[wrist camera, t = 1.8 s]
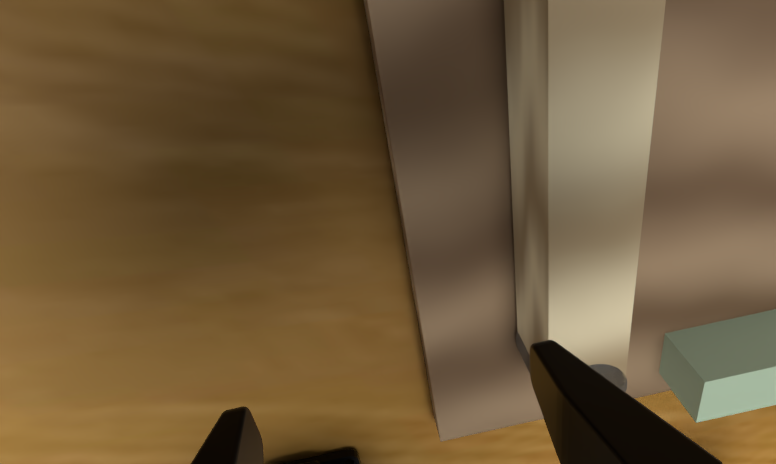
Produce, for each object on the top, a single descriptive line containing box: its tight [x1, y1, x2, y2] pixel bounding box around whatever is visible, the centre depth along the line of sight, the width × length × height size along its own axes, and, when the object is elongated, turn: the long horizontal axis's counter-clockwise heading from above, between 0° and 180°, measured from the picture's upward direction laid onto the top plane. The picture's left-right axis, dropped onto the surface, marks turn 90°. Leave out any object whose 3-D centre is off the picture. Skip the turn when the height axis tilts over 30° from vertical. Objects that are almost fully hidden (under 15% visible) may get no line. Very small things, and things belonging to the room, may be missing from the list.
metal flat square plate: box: [364, 0, 776, 441], centre depth 23 cm, size 22×21×2 cm
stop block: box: [659, 309, 776, 423], centre depth 25 cm, size 3×8×3 cm, turn 99°
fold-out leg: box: [504, 0, 666, 392], centre depth 19 cm, size 17×3×4 cm, turn 9°
